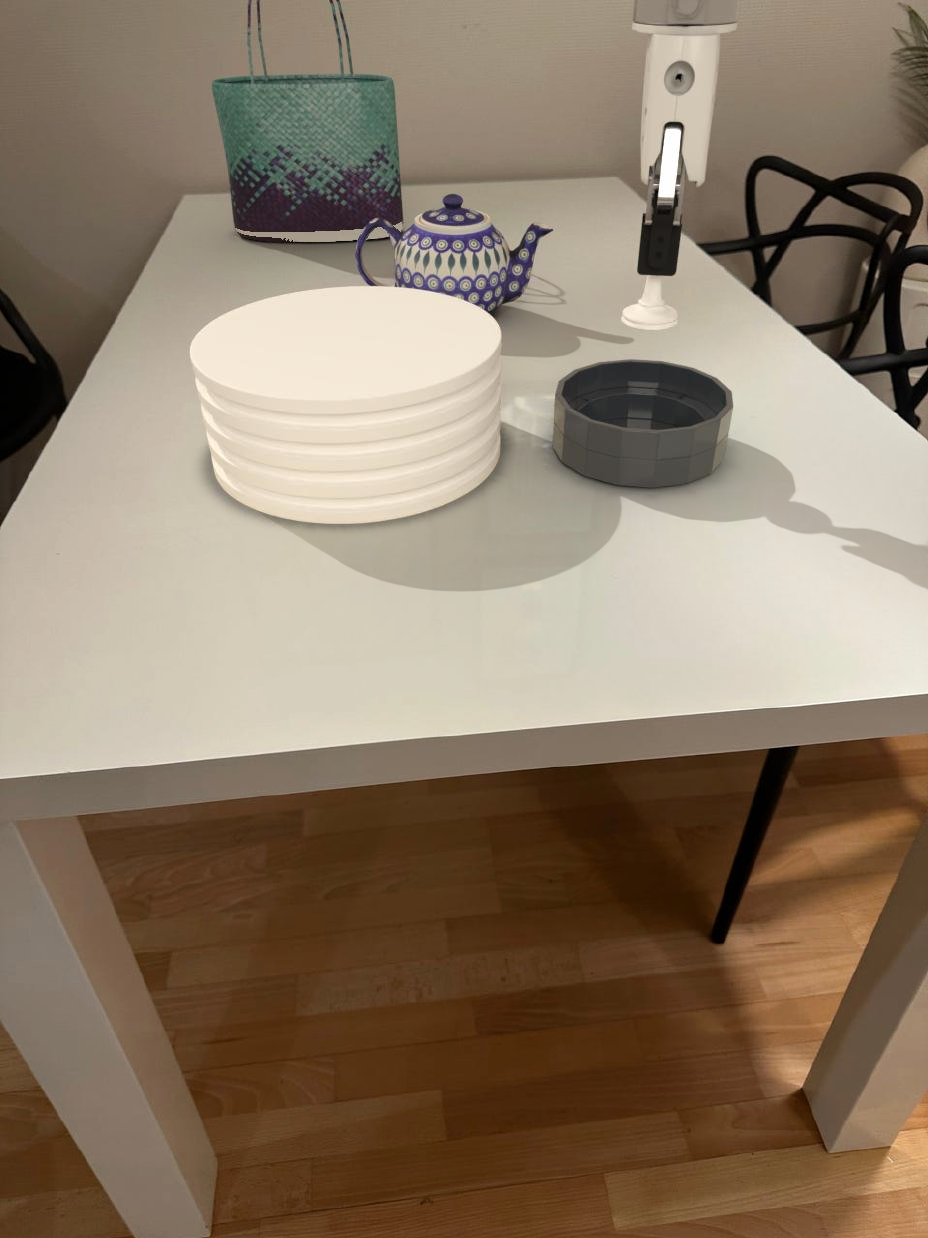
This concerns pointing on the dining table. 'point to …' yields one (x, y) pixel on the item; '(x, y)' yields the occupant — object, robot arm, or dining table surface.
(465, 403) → the plate stack
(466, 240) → the teapot
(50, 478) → the dining table surface
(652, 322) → the chess piece
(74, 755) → the dining table surface
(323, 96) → the basket
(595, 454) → the grey faceted round tub
